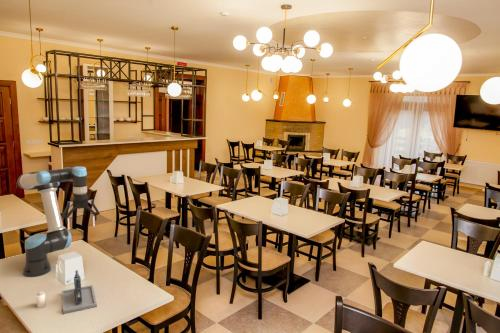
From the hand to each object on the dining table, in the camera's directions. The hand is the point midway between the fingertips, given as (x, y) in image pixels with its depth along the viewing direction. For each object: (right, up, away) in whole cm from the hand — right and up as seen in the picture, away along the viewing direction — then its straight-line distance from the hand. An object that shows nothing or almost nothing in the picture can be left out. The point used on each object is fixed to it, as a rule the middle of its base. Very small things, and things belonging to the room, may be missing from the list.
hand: (81, 227), depth 209 cm
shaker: (-11, -38, -22) cm, 46 cm away
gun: (+5, -38, -14) cm, 41 cm away
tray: (+6, -38, -15) cm, 41 cm away
